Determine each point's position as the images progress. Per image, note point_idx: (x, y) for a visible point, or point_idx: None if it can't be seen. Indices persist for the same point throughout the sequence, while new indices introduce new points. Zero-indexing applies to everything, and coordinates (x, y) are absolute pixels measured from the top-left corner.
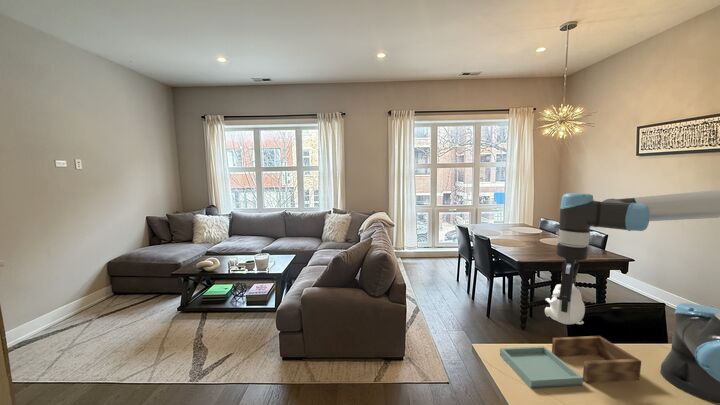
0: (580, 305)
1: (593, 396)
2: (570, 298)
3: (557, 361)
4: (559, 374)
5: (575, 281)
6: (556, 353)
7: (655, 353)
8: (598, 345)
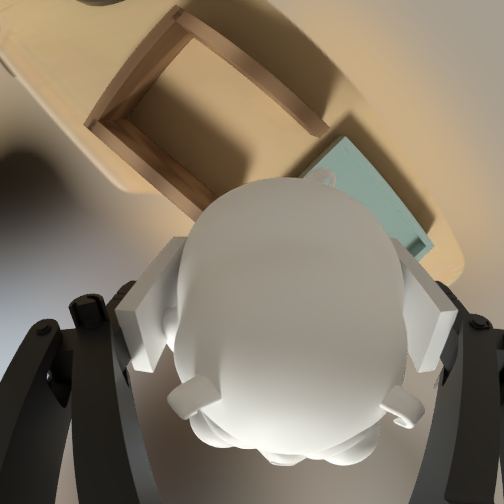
0: (365, 230)
1: (367, 111)
2: (479, 333)
3: None
4: (338, 189)
5: (36, 358)
6: None
7: (35, 38)
8: (112, 120)
